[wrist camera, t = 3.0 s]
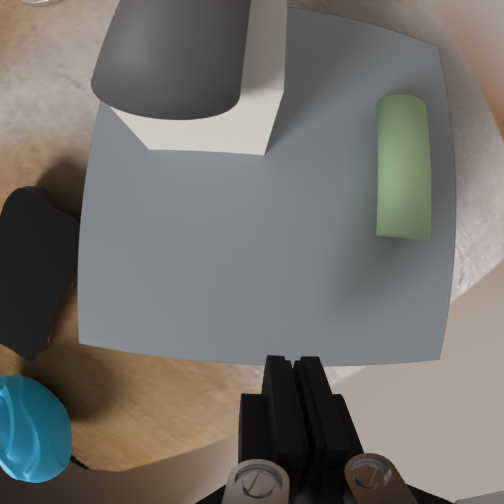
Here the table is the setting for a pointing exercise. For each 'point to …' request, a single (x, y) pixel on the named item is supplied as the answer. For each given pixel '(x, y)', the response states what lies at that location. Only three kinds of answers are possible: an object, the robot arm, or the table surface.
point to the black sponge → (35, 268)
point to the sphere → (32, 430)
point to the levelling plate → (266, 188)
